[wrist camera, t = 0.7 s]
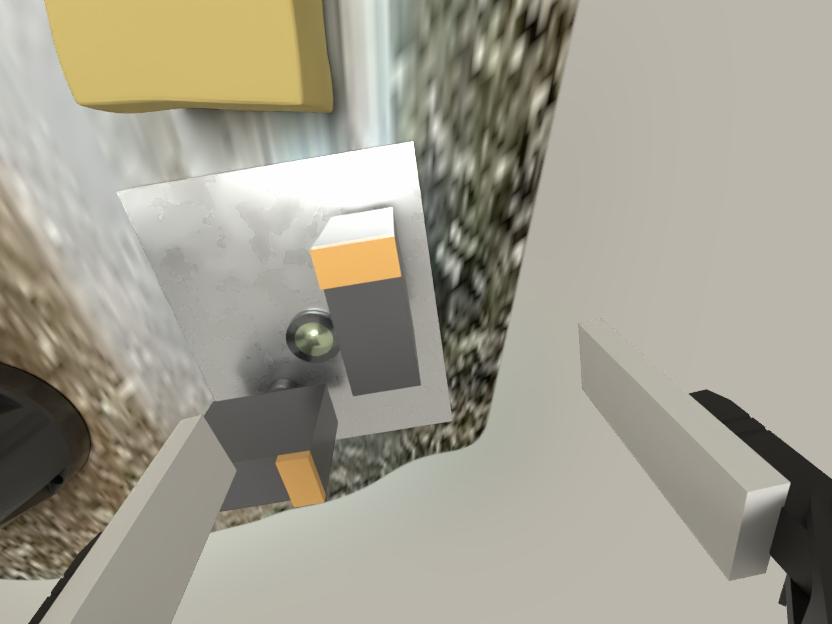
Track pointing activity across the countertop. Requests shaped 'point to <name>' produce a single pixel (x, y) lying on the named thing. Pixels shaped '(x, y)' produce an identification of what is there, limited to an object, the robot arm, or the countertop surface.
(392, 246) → the orange-capped gray block
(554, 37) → the countertop surface
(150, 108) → the cheese
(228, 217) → the level plate
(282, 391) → the knob
